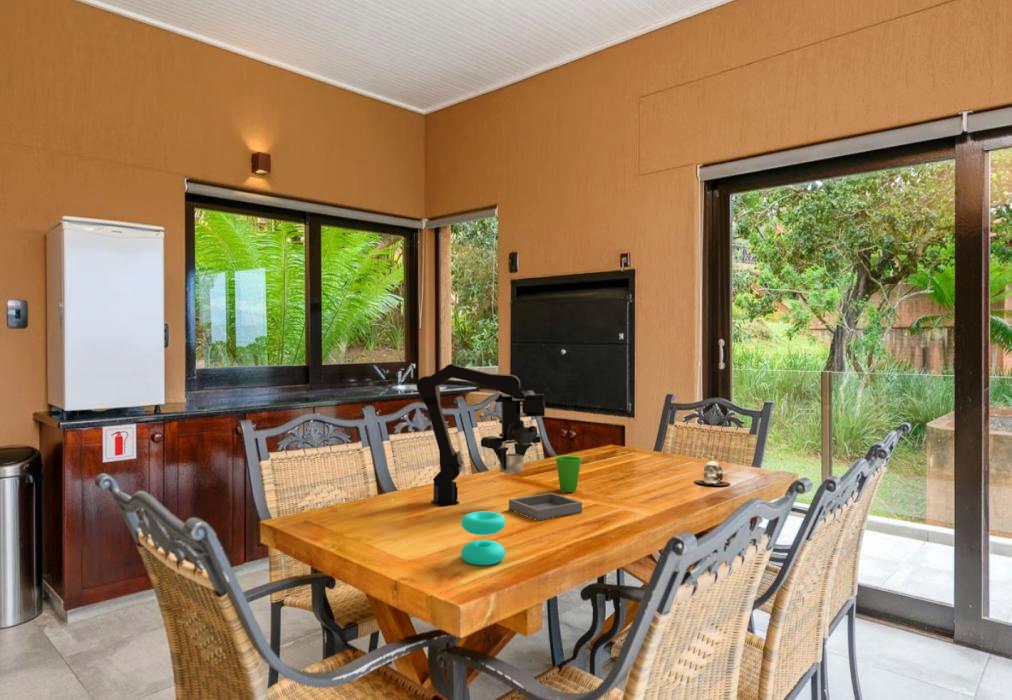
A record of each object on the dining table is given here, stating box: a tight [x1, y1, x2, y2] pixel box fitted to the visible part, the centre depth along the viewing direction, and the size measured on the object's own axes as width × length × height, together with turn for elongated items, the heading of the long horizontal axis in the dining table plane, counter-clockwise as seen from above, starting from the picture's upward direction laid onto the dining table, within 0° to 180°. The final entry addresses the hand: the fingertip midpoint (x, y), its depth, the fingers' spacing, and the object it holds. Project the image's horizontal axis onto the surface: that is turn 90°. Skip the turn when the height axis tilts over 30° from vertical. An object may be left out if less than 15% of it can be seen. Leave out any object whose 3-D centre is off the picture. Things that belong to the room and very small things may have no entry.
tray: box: [508, 492, 583, 521], centre depth 187 cm, size 16×14×3 cm
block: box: [499, 452, 524, 475], centre depth 194 cm, size 5×5×5 cm
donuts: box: [460, 510, 506, 566], centre depth 146 cm, size 10×10×10 cm
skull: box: [694, 461, 731, 486], centre depth 226 cm, size 12×10×10 cm
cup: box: [554, 455, 583, 493], centre depth 213 cm, size 9×9×11 cm
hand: (511, 468), depth 194 cm, fingers closed on block, 5 cm apart
